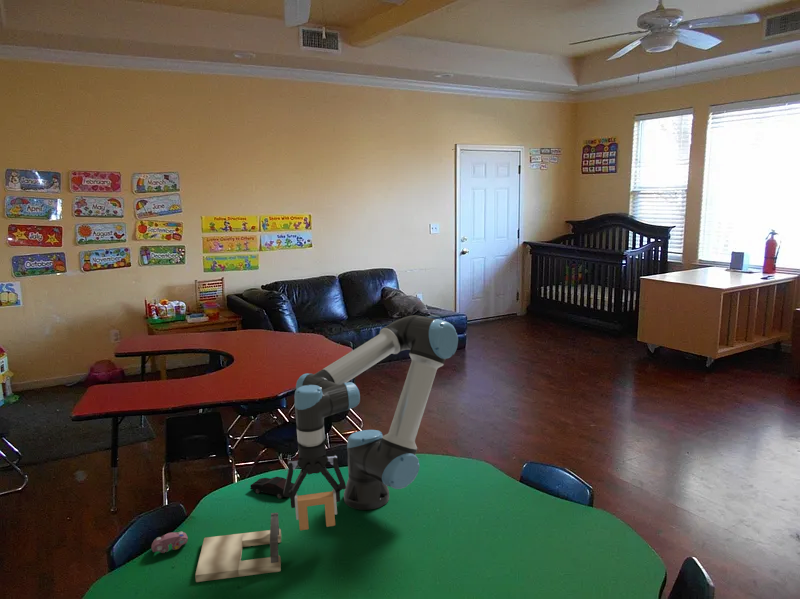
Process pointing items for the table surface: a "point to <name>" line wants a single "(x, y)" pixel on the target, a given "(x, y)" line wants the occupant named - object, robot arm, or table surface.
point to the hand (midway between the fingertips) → (316, 514)
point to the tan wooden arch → (316, 500)
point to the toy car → (270, 486)
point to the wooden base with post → (238, 554)
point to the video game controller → (169, 541)
